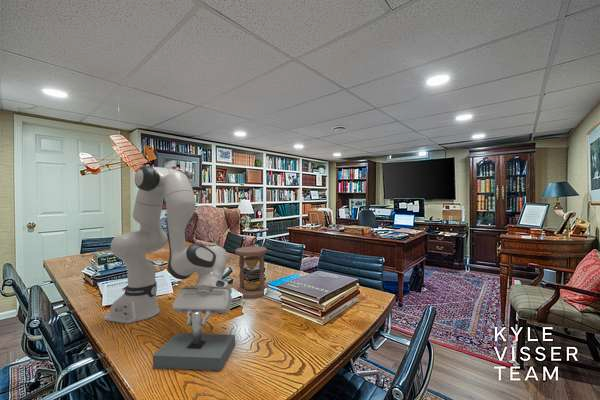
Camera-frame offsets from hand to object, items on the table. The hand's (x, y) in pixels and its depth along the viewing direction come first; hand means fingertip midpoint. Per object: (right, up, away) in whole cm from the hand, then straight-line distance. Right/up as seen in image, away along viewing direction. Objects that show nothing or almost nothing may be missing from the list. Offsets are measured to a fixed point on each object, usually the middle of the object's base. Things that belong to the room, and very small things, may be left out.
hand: (195, 325), depth 89 cm
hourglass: (+8, -11, +60) cm, 62 cm away
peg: (0, -6, +1) cm, 6 cm away
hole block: (0, -11, +1) cm, 11 cm away
